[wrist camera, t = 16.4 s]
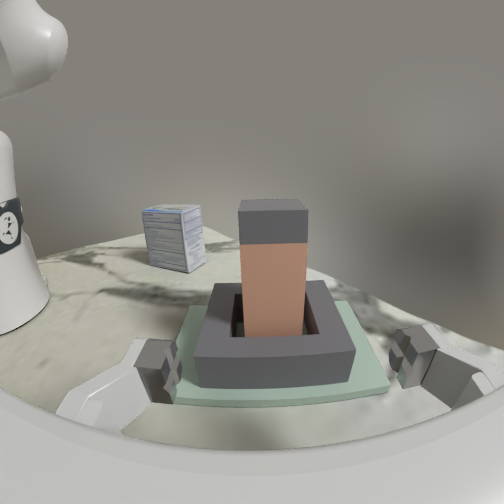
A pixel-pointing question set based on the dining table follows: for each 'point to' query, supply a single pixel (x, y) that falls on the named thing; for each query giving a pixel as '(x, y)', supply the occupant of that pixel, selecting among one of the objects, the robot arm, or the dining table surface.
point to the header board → (275, 398)
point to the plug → (273, 266)
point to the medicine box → (174, 236)
